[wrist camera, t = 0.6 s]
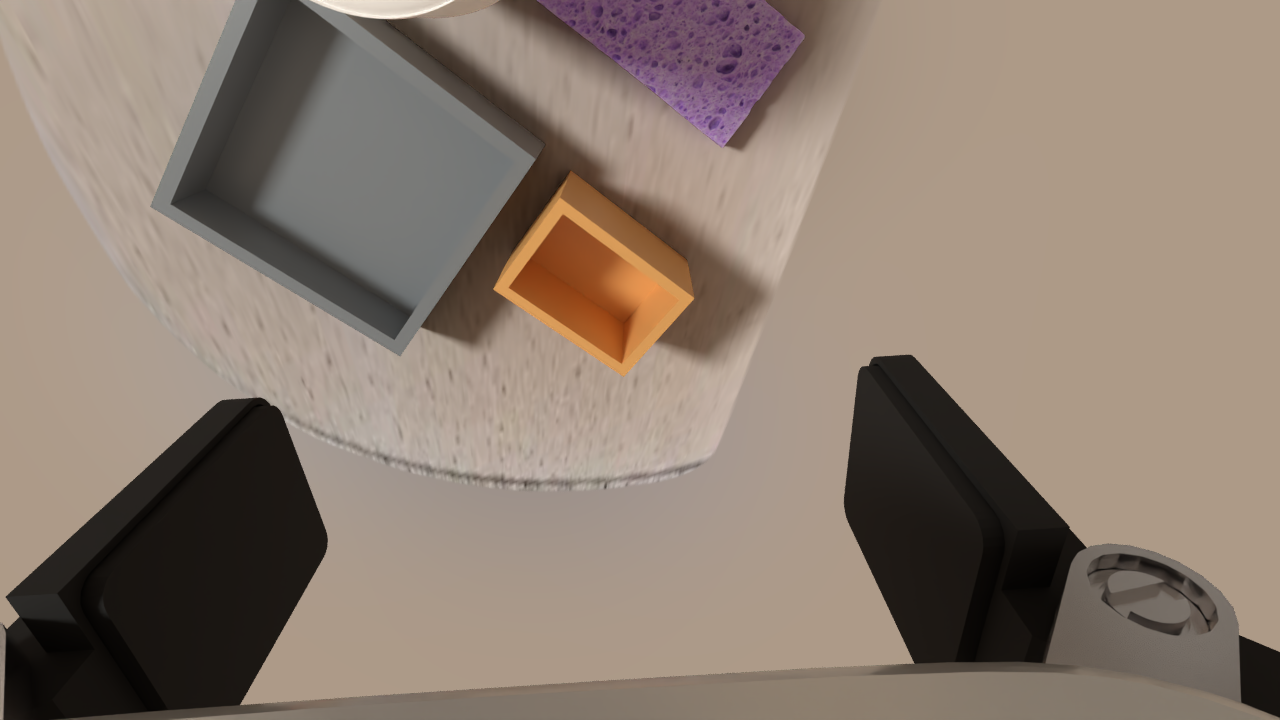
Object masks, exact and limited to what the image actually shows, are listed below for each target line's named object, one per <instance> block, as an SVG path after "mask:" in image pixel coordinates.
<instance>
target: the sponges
mask: <svg viewBox="0 0 1280 720" xmlns="http://www.w3.org/2000/svg"><path fill="white" fill-rule="evenodd" d="M537 1H538V2H539V3H540V4H542V5H543V6H545V7H546V8H547V9H548V10H549V11H551V12H552V13H553V14H554V15H555V16H557V17H558V18H559V19H561V20H562V21H563V22H565V23H566V24H567V25H569V26H570V27H571V28H573V29H574V30H575V31H576V32H577V33H579V34H580V35H581V36H582V37H584V38H585V39H587V40H588V41H589V42H591V43H592V44H594V45H595V46H596V47H597V48H598V49H599V50H601V51H602V52H603V53H605V54H606V55H607V56H609V57H610V58H611V59H613V60H614V61H615V62H617V63H618V64H619V65H620V66H621V67H622V68H624V69H625V70H626V71H628V72H629V73H630V74H631V75H633V76H634V77H635V78H637V79H638V80H639V81H640V82H642V83H643V84H644V85H646V86H647V87H648V88H649V89H650V90H652V91H653V92H654V93H655V94H657V95H658V96H659V97H660V98H661V99H662V100H664V101H665V102H666V103H667V104H668V105H670V106H671V107H672V108H673V109H674V110H676V111H677V112H678V113H679V114H680V115H682V116H683V117H684V118H686V119H687V120H688V121H689V122H690V123H692V124H693V125H694V126H695V127H696V128H697V129H699V130H700V131H701V132H703V133H704V134H705V135H706V136H708V137H709V138H710V139H712V140H713V141H714V142H715V143H716V144H718V145H719V146H720V147H722V148H723V147H724V146H725V145H726V143H727V142H728V140H729V139H730V138H731V137H732V135H733V134H734V133H735V132H736V130H737V129H738V128H739V127H740V125H741V124H742V122H743V121H744V120H745V119H746V117H747V116H748V115H749V113H750V111H751V109H752V107H753V105H754V104H755V103H756V101H758V100H759V99H760V98H761V96H762V95H763V94H764V92H765V91H766V90H767V88H768V87H769V86H770V84H771V82H772V80H773V79H774V78H775V77H776V75H777V74H778V73H779V71H780V70H781V69H782V68H783V66H784V64H785V63H786V62H787V61H788V60H789V59H790V58H791V56H792V55H793V54H794V52H795V51H796V49H797V47H798V46H799V45H800V44H801V42H802V41H803V40H804V38H805V35H804V34H803V33H802V32H801V31H800V30H799V29H797V28H796V27H794V26H793V25H792V24H790V23H789V22H788V21H787V20H786V19H785V18H784V17H783V16H782V15H781V14H780V13H779V12H778V11H777V10H776V9H774V8H773V7H772V6H770V5H769V4H768V3H767V2H766V1H765V0H537Z"/></svg>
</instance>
